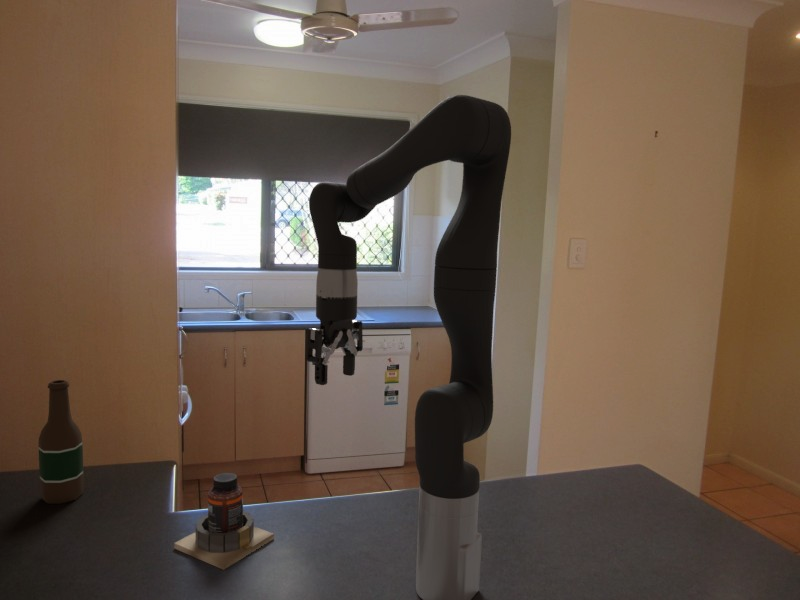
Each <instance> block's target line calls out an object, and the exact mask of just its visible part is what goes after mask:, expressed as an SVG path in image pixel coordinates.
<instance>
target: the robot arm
mask: <svg viewBox="0 0 800 600" xmlns="http://www.w3.org/2000/svg"><path fill="white" fill-rule="evenodd" d="M511 125H512V123H511V119H510V117H509V114H508V112H507V110H506V109H505V108H504V107H503V106H502V105H500V104H499V103H496V102H494V101H490V100H486V99H483V98H478V97H475V96H472V95H467V94H454V95H451V96H448V97H447V98H444V99H443V100H441V101H440V102H439V103H438V104H436V105H435V106H434V107H433V108H432V109H431V110H430V111H429V112H427V113H426V114H425V115H424V116H423V117H422V118H421V119H420V120H419V121H418V122H417V123H415V124H414V125H413V126H412V127H411V128H410V129H409V130H408V131H407V132H405V134H404V135H402V137H400V138H399V139H398V140H397V141H396V142H395V143H393V144H392V145H391V146H390V147H389V148H387V149H386V150H384V151H383V152H381V153H380V154H378V155H377V156H375V157H373V158H371V159H370V160H368V161H366V162H365V163H364V164H362V165H360V166H358V167H357V168H355V169H354V170H353V171H351V173H350V174H349V175H348V177H347V179H346V183H344V182H333V181H321V182H319V183H317V184H316V185H314V187H313V188H312V190H311V192H310V195H309V200H308V204H309V205H308V208H309V214H310V217H311V221H312V225H313V229H314V233H315V238H316V242H317V247H318V248H317V249H318V252H317V267H318V268H317V276H316V285H315V286H316V290H315V291H316V292H315V293H316V294H315V302H316V303H315V317H316V318H317V319H318V320H319V321H320V324H319V328H311V327H310V328H308V329H307V333H306V335H307V337H306V351H305V352H306V357H305V361H306V362H309V363H313V365H314V381H315V384H316V385H319V386H326V385H327V384H328V372H329V371H328V369H329V367H328V361H329V359H330V356H332V355H333V354H334V353H335V351H336V350H337V349H341V351H342V353H343V354H344V355H343V356H342V374H343V375H344V376H348V377H349V376H350V377H351V376H354V375H355V371H356V370H355V369H356V357H357V355H358V353H359V352H362V350H364V349H363V346H364V345H363V343H364V340H363V334H364V333H363V321H362V320H356V319H357V318H358V274H357V273H358V272H357V262H358V255H357V254H358V247H357V244H358V243H357V241H356V240H355V238H354V237H351V236H349V235H346V234H345V235H344V234H343V233H342V231H341V229H340V225H339V223H355V222H359V221H361V220H363V219H364V218H366V217H367V216H368V215H369V214H370V213H371V212H372V211H373V210H374V209H375V207H377V206H378V205H379V204H382V203H383V202H386V201H387V200H389V199H392V198H393V197H395V196H396V195H398V194H400V193H401V192H403V191H404V190H405V189H406V188H407V187H408V185H410V183H411V181H412V180H413V178H414V176H415V174H417V173H418V172H419V171H421V170H423V169H425V168H426V167H428V166H432V165H435V164H439V163H441V162H446V161H450V162H452V163H453V162H454V163H459V164H463V165H462V167H463V168H462V169H463V170H462V173H463V174H462V184H461V191H460V192H461V193H460V198H459V200H458V201H459V202H458V204H457V207H456V209H455V211H454V214H453V216H452V217H451V220H450V222H449V223H448V225H447V227H446V229H445V231H444V233H443V234H442V236H441V239H440V241H439V244H438V247H437V249H436V252H435V259H434V271H433V272H434V273H433V299H434V304H435V308H436V311H437V313H438V315H439V317H440V320H441V322H442V325H443V327H444V329H445V333H446V335H447V337H448V340H449V343H450V344H449V345H450V350H451V351H450V352H451V365H450V366H451V367H450V375H449V376H450V377H449V381H448V383H447V384H442V385H438V386H435V387H432V388H429V389H426V390H425V391H424V392H422V393H421V395H420V396H419V398H418V401H417V403H416V407H415V412H414V414H415V415H414V456H415V458H414V459H415V466H416V469H417V472H418V475H419V488H418V489H419V491H418V511H417V512H418V513H417V515H418V516H417V538H416V539H417V541H416V545H417V546H416V547H417V548H416V571H415V572H416V573H415V592H416V594H417V595H418V597H419V598H420V599H422V600H472V599H473V598H474V597H475V596H476V594H477V593H478V592H479V590H480V577H481V575H480V574H481V561H482V560H481V558H482V557H481V556H482V541H483V540H482V538H483V537H482V536H483V535H482V533H481V532H479V531H478V518H479V516H478V515H479V500H480V499H479V498H480V497H479V496H480V481H481V480H480V472H479V471H480V470H478V468H477V467H476V465H474V464H472V463H470V462H469V461H466V460H465V459H464V457H465V455H464V454H465V453H464V449H465V447H464V446H465V445H464V444H466V443H469V442H471V441H473V440H474V441H475V440H476V439H478V438H480V437H482V436H483V435H485V434H486V433H487V432H488V430H489V428H490V426H491V423H492V421H493V414H494V388H493V387H494V386H493V364H492V363H493V361H492V360H493V359H492V357H493V356H492V351H493V349H492V348H493V328H494V327H493V326H494V310H495V308H494V306H495V299H496V298H495V297H496V287H497V271H498V270H497V269H498V247H499V246H498V245H499V244H498V243H499V233H500V223H501V211H502V210H501V209H502V201H503V193H504V192H503V191H504V186H505V179H506V175H507V174H506V173H507V168H508V164H509V156H510V150H511V143H512V126H511ZM355 340H356V341H355ZM314 350H315V353H314ZM313 353H314V354H313ZM322 355H323V356H322Z"/></svg>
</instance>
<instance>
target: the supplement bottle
mask: <svg viewBox="0 0 800 600" xmlns="http://www.w3.org/2000/svg"><path fill="white" fill-rule="evenodd" d="M212 484H213V486H212V487H211V488H210V489H209V490H208V494H207V514H208V531H209V532H212V533H228V532H232V531H236V530H238V529H240V528H242V527H243V511H244V509H243V508H244V493H243V492H244V491H243V488H242V487H241V486H240V485H239V484H238V476H237V474H235V473H233V472H232V473H231V472H222V473H219V474H217V475H215V476H214V477H213V482H212Z"/></svg>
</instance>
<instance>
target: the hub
mask: <svg viewBox="0 0 800 600" xmlns="http://www.w3.org/2000/svg"><path fill="white" fill-rule="evenodd" d="M254 523H255V519H254V517H253V516H252V515H251V513H248V512H247V511H244V510H243V527H242V528H240V529H238V530H236V531H232V532H228V533H212V532H209V531H208V513H207V514H205V515H203V516H201V517H200V518H199V519H198V521H196V524H195V531H194V532H193V533H191V534H189V535H187V536H185V537H183V538H181V539H179V540H178V541H175V542H174V543H173V545H174V546H173V548H174V549H175V550H177V551H179V552H180V553H181V552H182V553H183V554H186V555H189V556H190V557H193V558H196V559H197V560H199V561H202V562H203V563H204V562H205V563H207V564H209V565H212V566H214V567H216V568H218V569H221V570H223V571H224V570H226V569H227V568H229V567H231V566H232V565H234V564H235V563H237V562H239V561H241V560H242V559H243V558H244V559H245V557H247V556H248V554H249V553H250V554H252V553H254V552H255V551H257V550H258V549H260V548H262V547H263V546H265V545H266V544H269V543H270V542H272V541H273V540H274V539H275V535H274V534H275V533H273V532H270V531H267V530H265V529H263V528H259V527H257V526H255V525H254ZM269 541H270V542H269ZM264 544H265V545H264ZM261 546H262V547H261ZM256 549H257V550H256ZM251 552H252V553H251ZM250 554H249V555H250ZM246 555H247V556H246Z"/></svg>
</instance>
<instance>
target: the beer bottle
mask: <svg viewBox="0 0 800 600" xmlns="http://www.w3.org/2000/svg"><path fill="white" fill-rule="evenodd" d="M69 387H70V384H69V381H68V380H64V379H56V380H53V381H50V382H48V385H47V389H48V390H49V391H48V392H49V394H48V415H47V416H48V417H47V422H46V423H45V425H44V426H43V428H42V429H41V432H40V434H39V437H38V466H39V467H38V468H39V470H38V472H39V490H40V491H39V492H40V498H41V499H42V500H43V502H44V503H46V504H47V505H49V504H51V505H53V504H54V505H55V504H56V505H57V504H58V505H59V504H61V505H62V504H65V503H69V502H72V501H76V500H77V499H78V498H79V497H81V496H82V495H83V493H84V491H85V490H84V488H85V487H84V485H85V480H84V478H85V477H84V456H83V455H84V453H83V451H84V449H83V448H84V447H83V437H82V432H81V430H80V428H79V426H78V425H77V424H76V422H75V421H74V419H72V414H71V409H70V408H71V407H70V406H71V405H70V398H69V397H70V396H69V389H68V388H69Z"/></svg>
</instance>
